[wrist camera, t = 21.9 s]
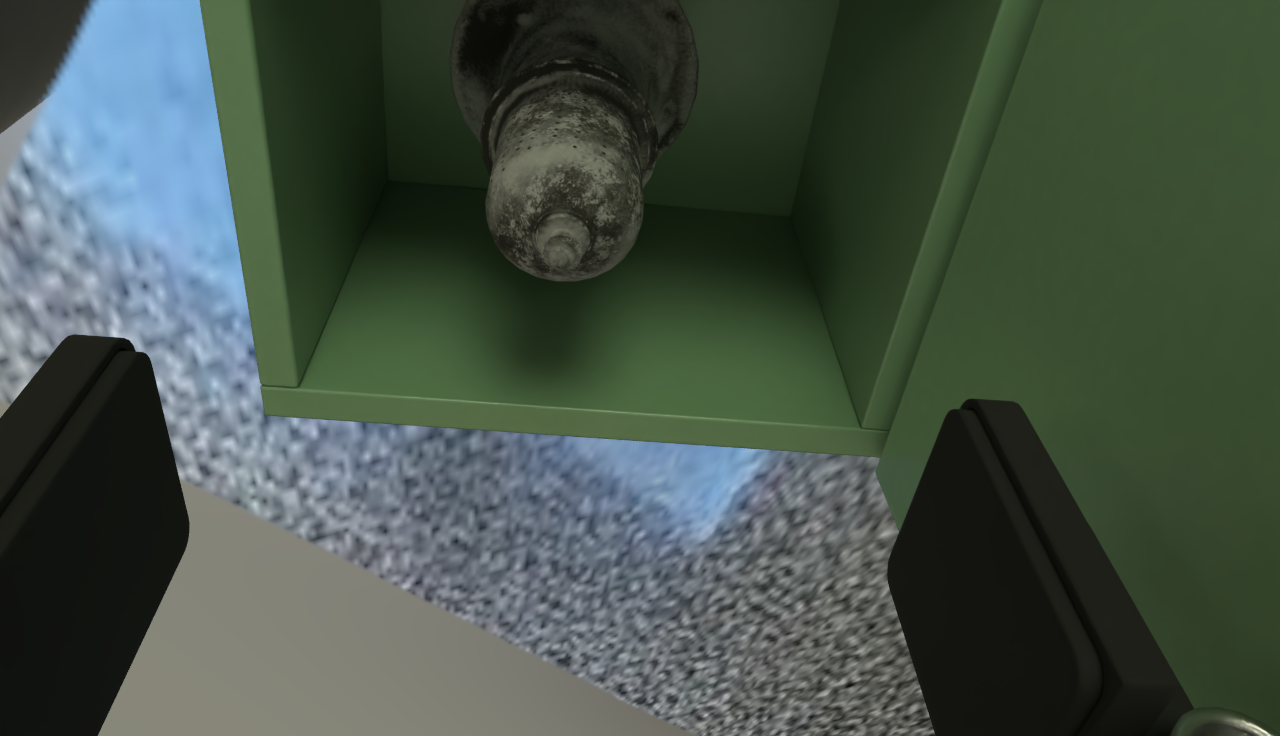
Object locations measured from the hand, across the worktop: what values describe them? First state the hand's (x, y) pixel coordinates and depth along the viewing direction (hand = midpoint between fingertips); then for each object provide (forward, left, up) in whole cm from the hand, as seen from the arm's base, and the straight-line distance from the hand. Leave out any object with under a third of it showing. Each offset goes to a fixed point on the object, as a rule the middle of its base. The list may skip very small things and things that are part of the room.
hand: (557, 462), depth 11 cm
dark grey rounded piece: (0, 0, -17) cm, 17 cm away
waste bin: (+1, 0, -18) cm, 18 cm away
